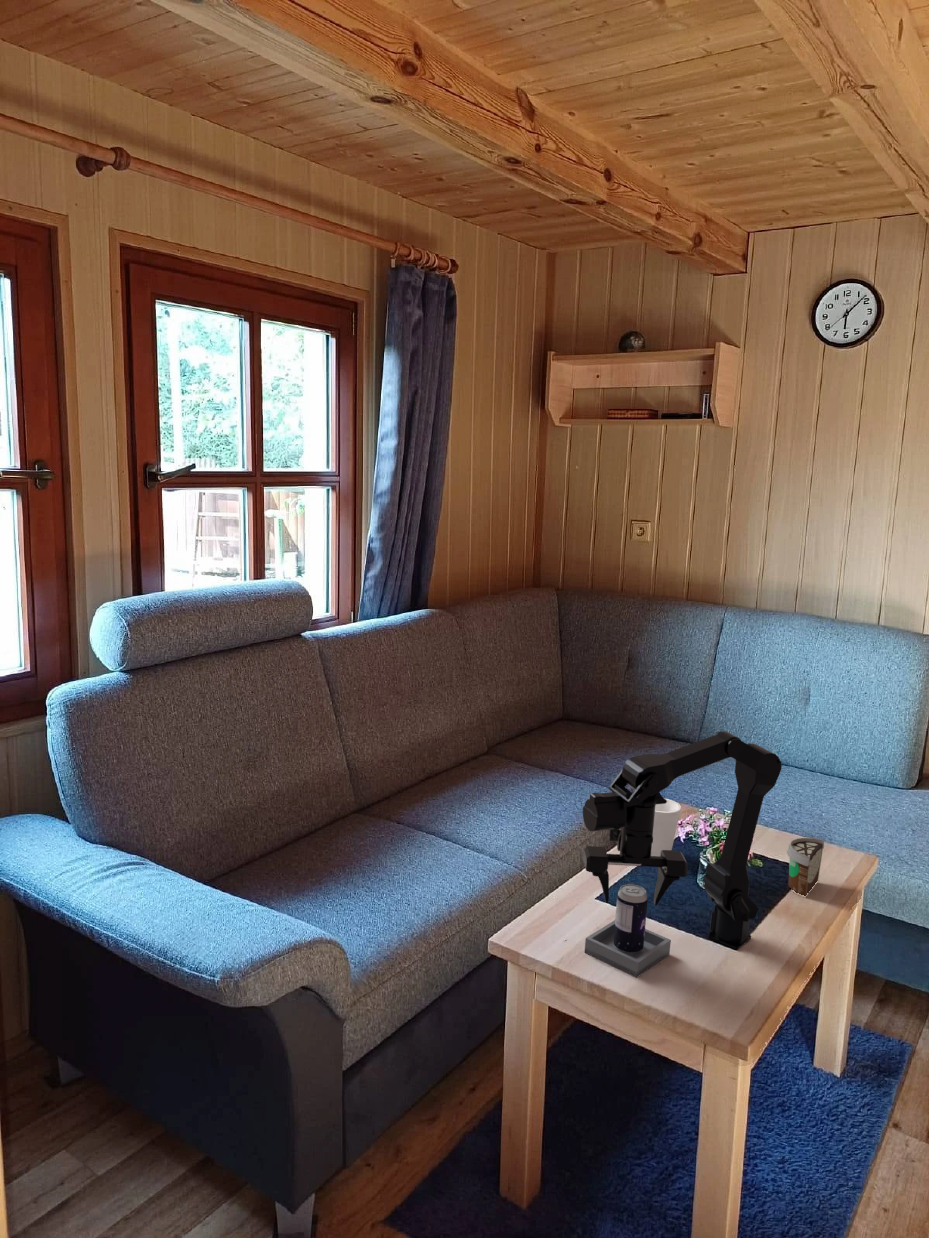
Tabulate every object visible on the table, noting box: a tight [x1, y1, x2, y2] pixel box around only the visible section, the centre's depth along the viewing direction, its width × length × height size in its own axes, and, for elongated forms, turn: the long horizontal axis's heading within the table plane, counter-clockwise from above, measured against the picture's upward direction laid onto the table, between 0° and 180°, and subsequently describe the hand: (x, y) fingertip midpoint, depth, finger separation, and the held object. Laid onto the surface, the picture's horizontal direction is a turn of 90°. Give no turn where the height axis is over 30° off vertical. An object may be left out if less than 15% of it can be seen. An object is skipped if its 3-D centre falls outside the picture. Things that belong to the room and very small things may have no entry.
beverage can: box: [613, 883, 649, 954], centre depth 175 cm, size 6×6×12 cm
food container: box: [786, 837, 825, 896], centre depth 207 cm, size 12×6×10 cm, turn 144°
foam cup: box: [651, 797, 682, 856], centre depth 218 cm, size 10×9×13 cm
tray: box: [584, 919, 672, 979], centre depth 176 cm, size 12×12×3 cm
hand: (630, 903), depth 174 cm, fingers open, 9 cm apart
